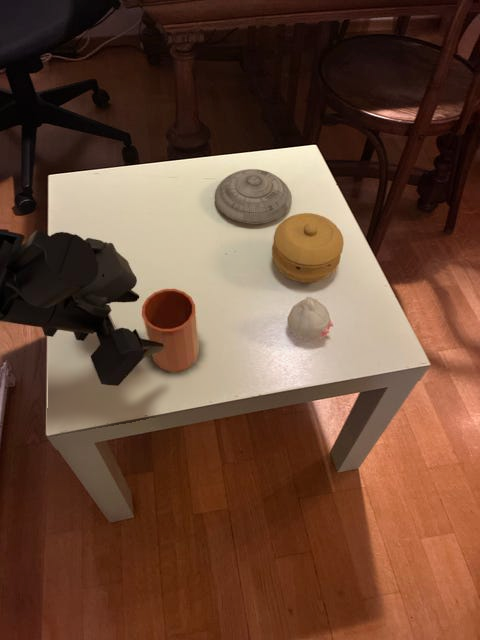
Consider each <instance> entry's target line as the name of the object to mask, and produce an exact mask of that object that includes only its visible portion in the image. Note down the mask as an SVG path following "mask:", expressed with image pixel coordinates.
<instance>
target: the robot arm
mask: <svg viewBox="0 0 480 640" xmlns="http://www.w3.org/2000/svg"><path fill="white" fill-rule="evenodd" d="M25 239H26V236H25V235H24V234H23V233H19V232H13V231H10V230H9V229H4V228H0V322H2V323H9V324H17V325H23V326H28V327H29V326H30V327H36V328H41V329H42V332H43V335H44V337H52V338H53V337H54V336H55V335H56V333H57V332H58V331H63V332H70V333H73V335H74V337H75V340H76V341H81V342H84V341H85V340H86V339H87V337H89V335H93V334H96V337H97V339H98V342H99V345H98V346H97V347H96V348H95V350H94V351H93V352H92V353H91V354H90V360H91V362H92V364H93V367H94V369H95V372H96V375H97V377H98V380H99V382H100V384H101V385H104V386H116V387H118V386H120V385H121V384H122V383H123V381H124V380H125V379H126V378H127V377H128V376H130V373H132V371H133V370H134V369H135V368H136V367H137V366H138V364H140V362H141V361H142V360H144V359H146V358H148V357H150V356H151V357H152V355H153V354H155V353H158V352H160V351H161V350H162V349H163V348H164V345H163V344H161V343H159V342H156V341H151V340H148V338H147V339H146V338H142V337H140V335H139V332H138V331H137V329H136V328H134V330H130V329H129V328H126V327H119V328H117V327H116V325H115V323H114V321H113V318H112V316H111V312H112V309H111V306H110V304H112V303H136V302H137V301H138V300H139V299H140V295H139V293H137V292H135V291H134V290H133V289H134V288H135V287H136V286H137V283H138V279H137V276H136V275H135V273H134V272H133V269H132V268H131V266H130V263H129V261H128V260H127V258H125V257H124V256H123V255H122V254H121V253H119V251H117V249H116V247H115V244H114V243H112V242H107V241H104V240H101V239H96V238H91V237H87V238H85V239H84V238H83V237H81V236H80V235H78V234H74V233H73V234H72V233H70V232H65V231H59V232H54V233H52V234H50V235H49V234H47V233H46V232H44V231H43V230H41V229H37V230H35V231H33V232H32V234H30V236H29V238H28V240H26V241H25Z"/></svg>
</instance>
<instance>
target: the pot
mask: <svg viewBox="0 0 480 640" xmlns="http://www.w3.org/2000/svg"><path fill="white" fill-rule="evenodd" d="M344 243H345V242H344V236H343V234H342V232H341V230H340V229H339V227H338V226H337V225H336V223H334V222H333V221H331V220H330V219H329V218H328V217H325V216H324V215H321V214H317V213H310V212H301V213H297V214H293V215H291V216H288V217H286V218H285V219H284V220H282V221H281V222H280V223H279V224H278V225H277V227H276V228H275V230H274V234H273V243H272V246H271V256H272V260H273V262H274V264H275V265H276V267H277V268H278V270H279V271H280V273H282V274H283V275H284V276H286V277H287V278H289V279H290V280H293V281H295V282H300V283H309V284H310V283H315V282H318V281H321V280H324V279H325V278H327V277H329V276H330V275H331V274H333V272H335V271H336V269H337V268H338V266H339V264H340V262H341V256H342V255H341V254H342V253H343V249H344Z"/></svg>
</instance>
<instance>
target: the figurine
mask: <svg viewBox="0 0 480 640" xmlns="http://www.w3.org/2000/svg"><path fill="white" fill-rule="evenodd" d="M330 316H331V315H330V312H329V311H328V308H327V307H326V306H325V305H324V304H323V303H321V302H320V301H319V300H318V299H316V298H313V297H311V296H307V297H305V298H304V299H302V300H301V301H299V302H298V303H296V304H294V305H293V306H292V308H291V309H290V311H289V314H288V316H287V326H288V329H289V330H290V332H291V333H292V335H293V336H295V338H297V339H299V340H301V341H304V342H315V341H318V340H321V339H323V338H324V337H326V335H328V334H329V333H330V329H331V328H330V327H334V323H333V322H332V320H331V317H330Z"/></svg>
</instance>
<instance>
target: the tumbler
mask: <svg viewBox="0 0 480 640" xmlns="http://www.w3.org/2000/svg"><path fill="white" fill-rule="evenodd" d="M196 310H197V309H196V304H195V302H194V300H193V298H192V296H190V295H189V294H188V293H187V292H186V291H183V290H179V289H176V288H163V289H160V290H158V291H155V292H153V293H152V294H151V295H149V296H148V297H147V298H146V299H145V301H144V303H143V304H142V306H141V316H142V321H143V325H144V330H145V333H146V338H147V340H151V341H156V342H159V343H161V344H163V345H164V348H163V349H162V350H161V351H160V352H158V353H155V354H153V355H151V357H152V360H153V362H154V363H155V365H156V366H157V367H159V369H161V370H163V371H166V372H171V373H174V372H175V373H176V372H181V371H185V370H187V369H188V368H190V367H191V366H193V365H194V363H195V362H196V361H197V359H198V357H199V354H200V353H199V351H200V349H199V347H200V346H199V334H198V323H197V311H196Z"/></svg>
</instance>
